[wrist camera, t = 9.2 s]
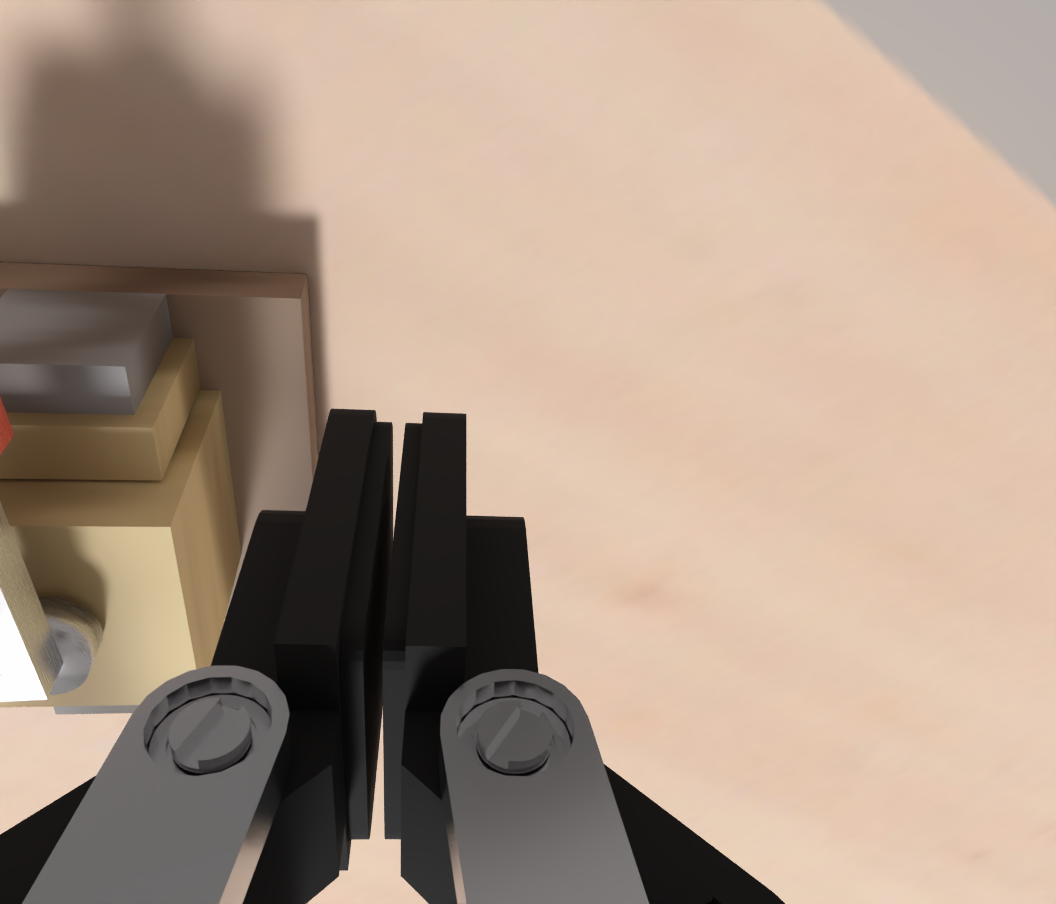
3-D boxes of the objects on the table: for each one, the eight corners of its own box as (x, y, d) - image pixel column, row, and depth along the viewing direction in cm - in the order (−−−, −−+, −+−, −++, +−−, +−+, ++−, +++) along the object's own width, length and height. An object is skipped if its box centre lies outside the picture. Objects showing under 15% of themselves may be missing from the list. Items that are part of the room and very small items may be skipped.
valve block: (307, 274, 24) (267, 420, 18) (326, 585, 30) (301, 770, 24) (-105, 258, 22) (-293, 410, 17) (3, 586, 29) (-106, 780, 23)
